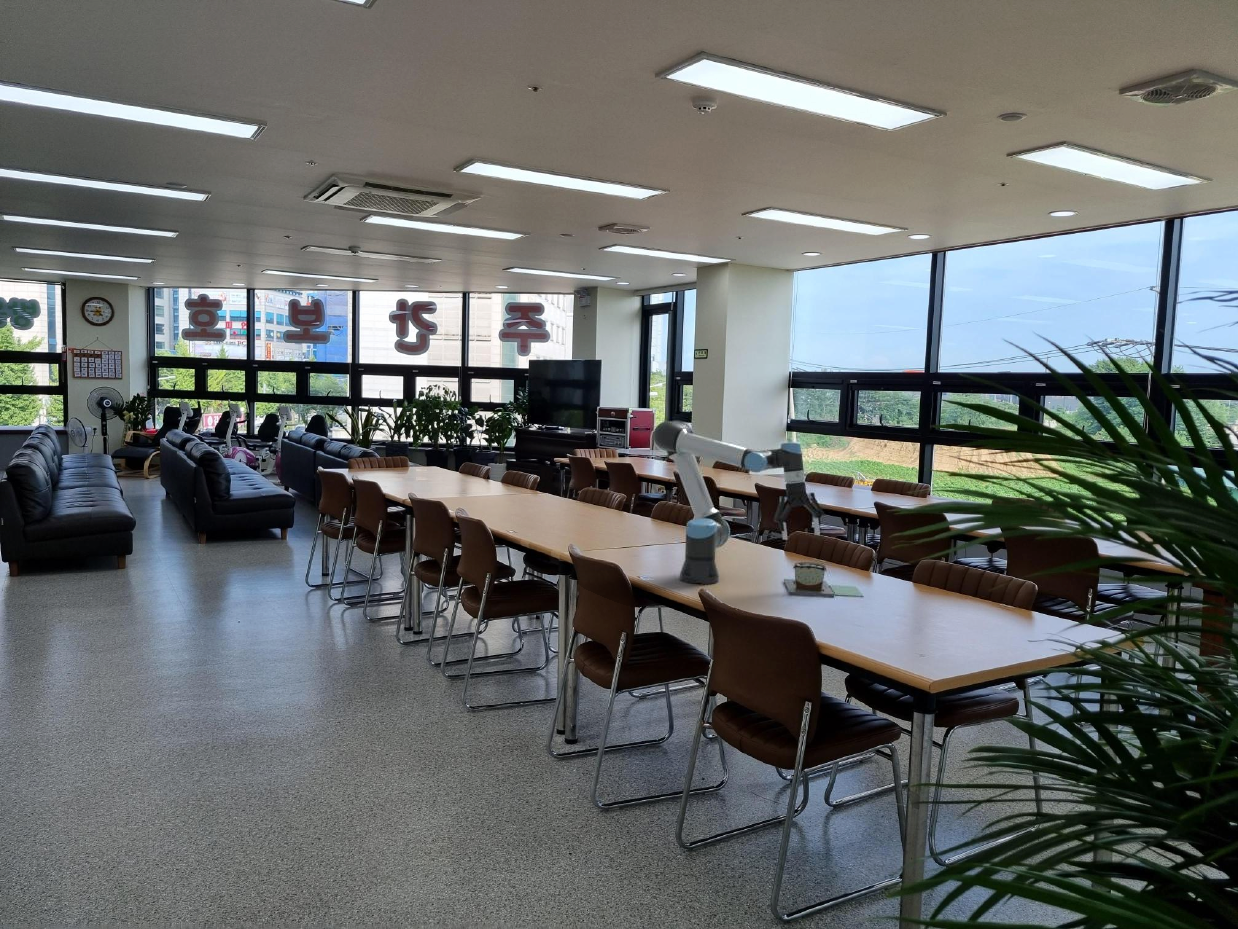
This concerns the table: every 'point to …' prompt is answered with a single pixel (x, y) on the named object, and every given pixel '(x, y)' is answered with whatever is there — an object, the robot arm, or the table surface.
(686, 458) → the robot arm
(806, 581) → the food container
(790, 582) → the grey rectangular frame
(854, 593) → the pad
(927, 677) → the table surface
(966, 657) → the table surface
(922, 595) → the table surface
